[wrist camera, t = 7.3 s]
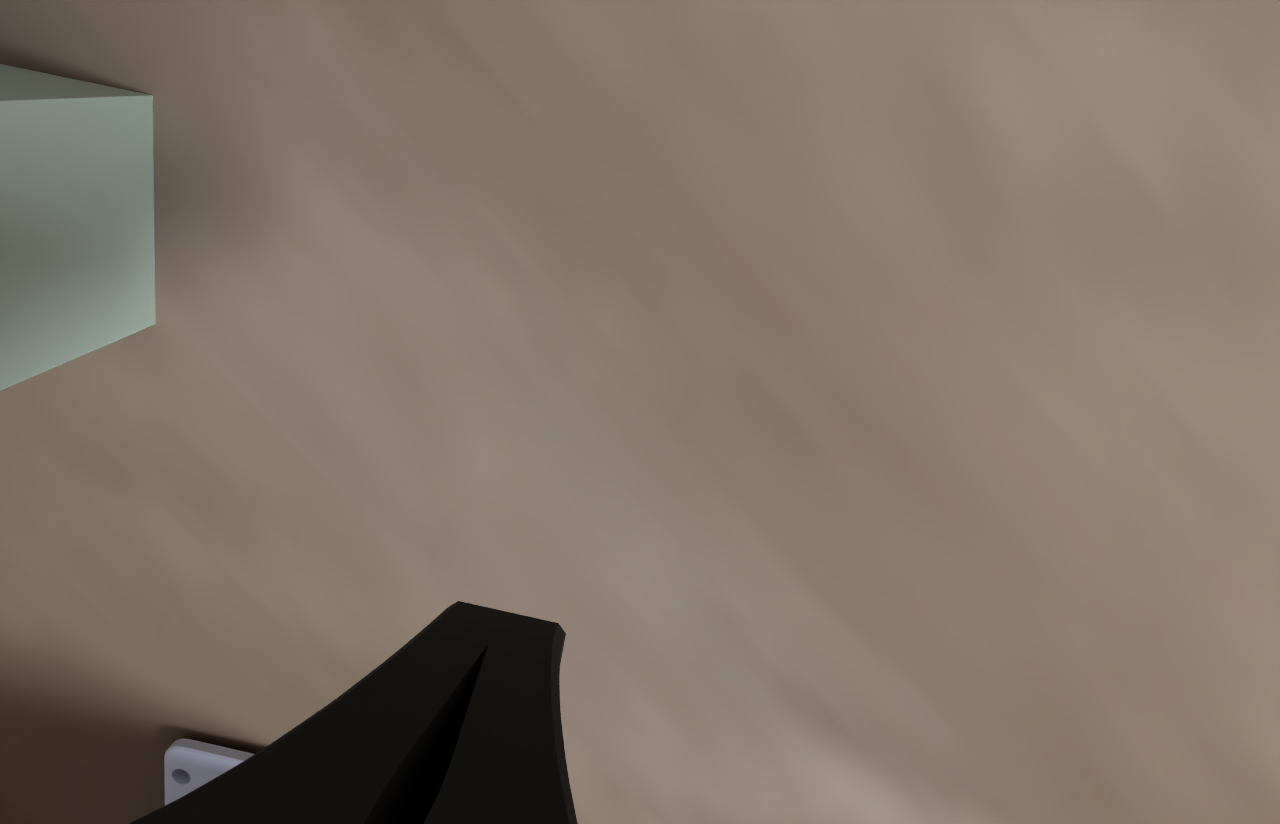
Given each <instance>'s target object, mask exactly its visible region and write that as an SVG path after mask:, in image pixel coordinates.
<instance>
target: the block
mask: <svg viewBox="0 0 1280 824" xmlns="http://www.w3.org/2000/svg"><path fill="white" fill-rule="evenodd" d="M154 324H155V250H154V159H153V95H149V94H144V93H139V92H134V91H129V90H125V89H120V88H115V87H110V86H105V85H100V84H96V83H91V82H86V81H81V80H76V79H71V78H66V77H62V76H57V75H52V74H47V73H42V72H37V71H32V70H28V69H23V68H18V67H13V66H8V65H3V64H0V391H1V390H3V389H5V388H8V387H10V386H12V385H15V384H17V383H19V382H22V381H24V380H26V379H29V378H31V377H33V376H36V375H38V374H40V373H43V372H45V371H47V370H50V369H52V368H54V367H57V366H59V365H61V364H64V363H66V362H68V361H71V360H73V359H75V358H78V357H80V356H82V355H85V354H87V353H89V352H92V351H94V350H96V349H99V348H101V347H103V346H106V345H108V344H110V343H113V342H115V341H117V340H120V339H122V338H124V337H127V336H129V335H131V334H134V333H136V332H138V331H141V330H143V329H145V328H147V327H150V326H152V325H154Z"/></svg>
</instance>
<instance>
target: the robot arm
mask: <svg viewBox="0 0 1280 824" xmlns="http://www.w3.org/2000/svg"><path fill="white" fill-rule="evenodd" d="M565 635H566V633H565V632H564V631H563V629H562V628H561V626H560V625H559V623H555V622H550V621H546V620H541V619H537V618H532V617H528V616H523V615H519V614H514V613H510V612H505V611H501V610H496V609H491V608H487V607H482V606H478V605H473V604H469V603H464V602H460V601H458V602H456V603H455V604H453V605H451V606H450V607H448V608H447V609H446V610H445V611H443V612H442V613H441V614H440V615H439V616H438V617H437V618H436V619H434V620H433V621H432V622H431V623H430V624H429V625H428V626H427V627H425V628H424V629H423V630H422V631H421V632H420V633H418V634H417V635H416V636H415V637H414V638H413V639H411V640H410V641H409V642H408V643H407V644H405V645H404V646H403V647H402V648H401V649H399V650H398V651H397V652H396V653H395V654H393V655H392V656H391V657H390V658H388V659H387V660H386V661H385V662H384V663H382V664H381V665H380V666H378V667H377V668H376V669H374V670H373V671H372V672H371V673H369V674H368V675H367V676H365V677H364V678H363V679H362V680H360V681H359V682H358V683H356V684H355V685H354V686H352V687H351V688H350V689H349V690H347V691H346V692H345V693H343V694H342V695H341V696H339V697H338V698H337V699H335V700H334V701H333V702H331V703H330V704H328V705H327V706H326V707H324V708H323V709H321V710H320V711H318V712H317V713H315V714H314V715H312V716H311V717H310V718H308V719H307V720H305V721H304V722H302V723H301V724H299V725H298V726H296V727H295V728H294V729H292V730H291V731H289V732H288V733H286V734H285V735H283V736H282V737H280V738H279V739H278V740H276V741H275V742H273V743H272V744H270V745H268V746H267V747H265V748H264V749H262V750H261V751H259V752H257V753H256V754H253V753H248V752H244V751H240V750H235V749H231V748H226V747H222V746H218V745H213V744H209V743H205V742H200V741H196V740H191V739H178V740H176V741H175V742H174V743H173V744H172V745H171V746H170V747H169V748H168V750H167V751H166V752H165V756H164V783H165V806H163V807H162V808H160V809H158V810H156V811H154V812H152V813H150V814H148V815H146V816H144V817H142V818H140V819H138V820H136V821H134V822H132V823H130V824H577V819H576V815H575V809H574V804H573V799H572V794H571V789H570V784H569V778H568V772H567V765H566V759H565V750H564V742H563V733H562V724H561V713H560V693H559V671H560V662H561V657H562V651H563V646H564V641H565ZM185 771H186V772H185Z"/></svg>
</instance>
